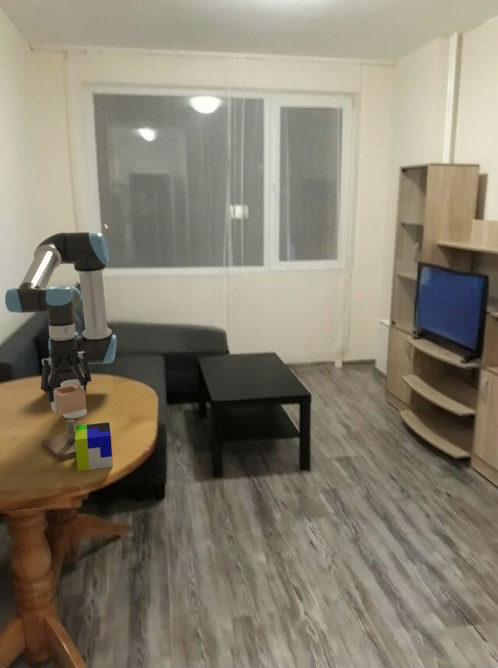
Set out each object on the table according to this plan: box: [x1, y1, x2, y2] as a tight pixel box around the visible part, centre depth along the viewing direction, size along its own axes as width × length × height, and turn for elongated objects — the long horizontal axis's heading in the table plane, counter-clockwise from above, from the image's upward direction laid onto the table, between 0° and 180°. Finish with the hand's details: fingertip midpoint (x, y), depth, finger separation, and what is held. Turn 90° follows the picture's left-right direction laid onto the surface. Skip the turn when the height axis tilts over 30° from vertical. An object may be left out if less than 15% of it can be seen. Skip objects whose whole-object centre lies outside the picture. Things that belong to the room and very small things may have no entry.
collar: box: [50, 384, 87, 416], centre depth 171 cm, size 8×8×6 cm
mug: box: [61, 380, 88, 419], centre depth 198 cm, size 12×8×12 cm
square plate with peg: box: [41, 419, 77, 462], centre depth 174 cm, size 14×14×8 cm
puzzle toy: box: [75, 422, 114, 472], centre depth 165 cm, size 10×10×10 cm
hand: (68, 407), depth 172 cm, fingers closed on collar, 8 cm apart
